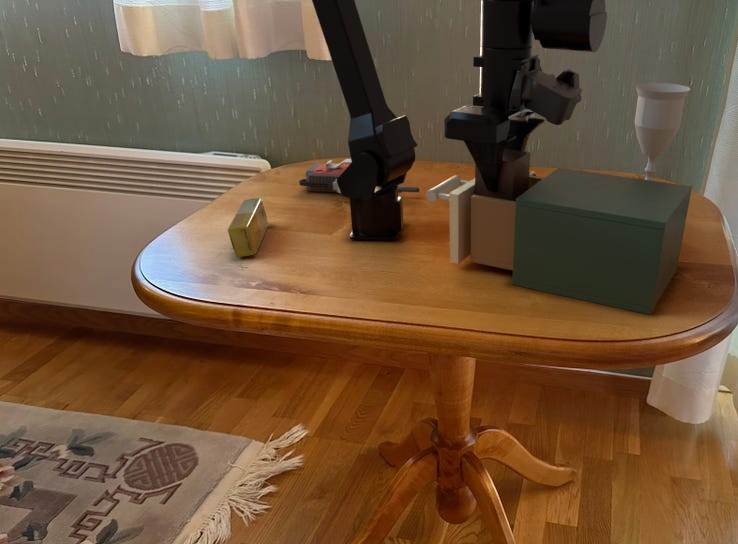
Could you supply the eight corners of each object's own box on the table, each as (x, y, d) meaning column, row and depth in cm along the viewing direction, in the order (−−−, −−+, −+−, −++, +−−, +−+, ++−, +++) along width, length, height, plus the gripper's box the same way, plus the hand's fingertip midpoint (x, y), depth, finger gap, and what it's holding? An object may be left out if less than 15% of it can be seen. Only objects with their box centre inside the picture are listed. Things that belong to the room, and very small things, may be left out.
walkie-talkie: (295, 195, 108) (418, 200, 106) (291, 168, 106) (417, 172, 104) (311, 179, 116) (427, 183, 114) (308, 153, 113) (426, 157, 112)
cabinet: (511, 284, 81) (515, 198, 75) (552, 245, 91) (558, 167, 85) (650, 315, 74) (665, 222, 69) (676, 269, 85) (692, 186, 79)
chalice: (614, 218, 100) (631, 89, 90) (623, 204, 105) (639, 81, 96) (665, 225, 98) (687, 94, 88) (671, 210, 103) (693, 85, 93)
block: (512, 204, 80) (514, 162, 78) (474, 197, 82) (475, 156, 80) (528, 192, 84) (530, 151, 81) (491, 186, 86) (493, 146, 83)
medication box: (250, 226, 97) (242, 199, 95) (269, 224, 97) (262, 196, 95) (235, 258, 87) (226, 228, 84) (256, 255, 87) (248, 225, 85)
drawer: (416, 255, 86) (414, 187, 81) (461, 224, 95) (461, 161, 90) (568, 287, 78) (575, 214, 73) (600, 250, 87) (608, 183, 83)
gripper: (544, 63, 64) (534, 220, 72) (602, 41, 78) (588, 174, 87) (441, 54, 68) (442, 204, 77) (514, 35, 83) (509, 163, 91)
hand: (501, 185), depth 83 cm, fingers closed on block, 5 cm apart
